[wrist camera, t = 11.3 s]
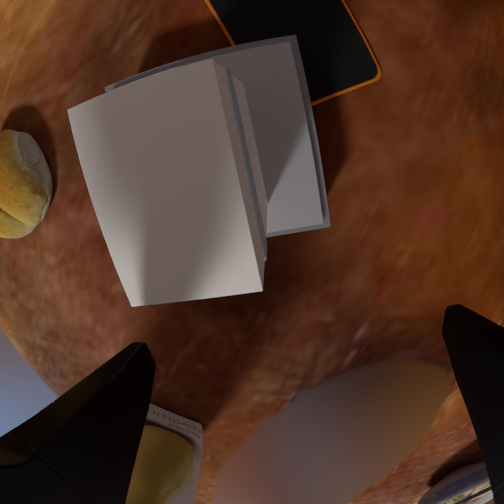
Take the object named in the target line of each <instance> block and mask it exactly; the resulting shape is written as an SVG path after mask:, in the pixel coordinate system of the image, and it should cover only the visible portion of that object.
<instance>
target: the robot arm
mask: <svg viewBox="0 0 504 504" xmlns="http://www.w3.org/2000/svg"><path fill="white" fill-rule="evenodd" d="M442 335H443V339H444V342H445V345H446V348H447V351H448V355H449V358H450V362H451V365H452V369H453V372H454V375H455V378H456V381H457V384H458V386H459V389H460V391H461V394H462V397H463V399H464V402H465V405H466V407H467V410H468V413H469V416H470V419H471V421H472V424H473V427H474V430H475V433H476V436H477V440H478V443H479V446H480V449H481V453H482V456H483V459H484V463H485V466H486V470H487V474H488V477H489V481H490V485H491V489H492V493H493V499H494V503H495V504H504V327H502V326H500V325H498V324H496V323H494V322H492V321H491V320H489V319H487V318H485V317H483V316H481V315H479V314H478V313H476V312H474V311H472V310H470V309H468V308H466V307H464V306H462V305H460V304H456V305H451V306H448V307H447V308H446V311H445V316H444V321H443V327H442ZM155 369H156V365H155V361H154V359H153V357H152V355H151V352H150V350H149V348H148V346H147V345H146V343H144V342H133V343H131V344H130V345H128V346H127V347H126V348H124V349H123V350H122V351H120V352H119V353H118V354H116V355H115V356H114V357H112V358H111V359H110V360H108V361H107V362H106V363H104V364H103V365H102V366H100V367H99V368H98V369H96V370H95V371H94V372H92V373H91V374H90V375H88V376H87V377H86V378H84V379H83V380H82V381H80V382H79V383H78V384H76V385H75V386H74V387H72V388H71V389H70V390H68V391H67V392H66V393H64V394H63V395H62V396H60V397H59V398H58V399H56V400H55V401H54V403H51V404H49V405H48V406H47V407H46V408H44V409H43V410H41V411H40V412H39V413H37V414H36V415H34V416H33V417H31V418H30V419H28V420H27V421H25V422H24V423H22V424H21V425H19V426H17V427H16V428H14V429H13V430H11V431H9V432H8V433H6V434H5V435H3V436H1V437H0V504H125V503H126V499H127V494H128V490H129V486H130V481H131V477H132V473H133V469H134V465H135V461H136V457H137V453H138V449H139V445H140V441H141V437H142V433H143V429H144V426H145V422H146V418H147V414H148V410H149V405H150V400H151V393H152V387H153V381H154V375H155Z"/></svg>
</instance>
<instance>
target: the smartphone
mask: <svg viewBox="0 0 504 504" xmlns="http://www.w3.org/2000/svg"><path fill="white" fill-rule="evenodd" d="M204 1H205V2H206V4H207V6H208V7H209V9H210V10H211V12H212V14H213V15H214V17H215V19H216V20H217V22H218V23H219V25H220V27H221V28H222V30H223V32H224V33H225V35H226V37H227V39H228V40H229V42H230V44H231V45H232V46H235V45H240V44H245V43H250V42H255V41H260V40H266V39H272V38H278V37H284V36H291V35H296V38H297V42H298V46H299V50H300V55H301V59H302V63H303V68H304V72H305V77H306V81H307V86H308V91H309V96H310V101H311V106H315V105H317V104H319V103H322V102H324V101H326V100H329V99H331V98H334V97H336V96H339V95H342V94H344V93H347V92H349V91H352V90H354V89H357V88H360V87H362V86H365V85H368V84H371V83H373V82H376V81H378V80H379V79H380V77H381V69H380V67H379V65H378V63H377V61H376V58H375V56H374V54H373V52H372V50H371V48H370V46H369V44H368V43H367V41H366V39H365V37H364V35H363V33H362V31H361V29H360V27H359V26H358V24H357V22H356V20H355V19H354V17H353V15H352V13H351V12H350V10H349V8H348V6H347V5H346V3H345V1H344V0H204Z"/></svg>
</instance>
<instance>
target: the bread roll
mask: <svg viewBox="0 0 504 504" xmlns="http://www.w3.org/2000/svg"><path fill="white" fill-rule="evenodd" d="M52 188H53V185H52V175H51V171H50V169H49V166H48V164H47V162H46V160H45V156H44V154H43V152H42V151H41V149H40V147H39V146H38V144H37V143H36V141H35V140H34V139H33V138H32V136H31V135H30V134H28V133H26V132H18V131H15V130H9V129H7V130H4V131H2V132H0V237H2V238H20V237H23V236H26V235H27V234H29V233H31V232H32V231H33V230H34V229H35V227H36V226H37V225H38V224H39V223H40V222H41V221H42V219H43V218H44V217H45V215H46V213H47V211H48V208H49V205H50V201H51V197H52Z"/></svg>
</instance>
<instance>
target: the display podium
mask: <svg viewBox="0 0 504 504" xmlns="http://www.w3.org/2000/svg"><path fill="white" fill-rule="evenodd" d="M208 59H213V60H215V61H216V62H217V63H219V64H220V65H221V66H222V67H224V66H226V67H227V68H228V69H230V70H231V73H232V75H233V76H235V77H236V78H237V79H238V80H239V81H241V82H242V83H243V84H244V89H245V94H246V98H247V103H248V108H249V113H250V117H251V122H252V127H253V132H254V137H255V141H256V146H257V151H258V156H259V161H260V166H261V171H262V176H263V181H264V186H265V191H266V197H267V202H268V210H267V228H266V237H272V236H278V235H284V234H290V233H296V232H302V231H309V230H315V229H321V228H327V227H331V226H330V218H329V210H328V203H327V195H326V188H325V182H324V175H323V168H322V162H321V156H320V150H319V144H318V138H317V133H316V127H315V122H314V116H313V111H312V106H311V101H310V96H309V91H308V86H307V81H306V77H305V72H304V68H303V63H302V59H301V55H300V50H299V46H298V42H297V38H296V35H291V36H284V37H278V38H272V39H266V40H260V41H255V42H250V43H245V44H240V45H235V46H231V47H227V48H222V49H218V50H214V51H210V52H206V53H203V54H199V55H195V56H192V57H188V58H185V59H181V60H178V61H175V62H172V63H169V64H165V65H162V66H159V67H156V68H154V69H151V70H148V71H145V72H142V73H139V74H137V75H134V76H131V77H129V78H126V79H124V80H121V81H119V82H116V83H114V84H111V85H109V86H107V87H105V92H106V93H107V92H109V91H112V90H114V89H117V88H120V87H122V86H125V85H128V84H130V83H133V82H136V81H139V80H141V79H144V78H147V77H150V76H153V75H156V74H159V73H162V72H165V71H169V70H172V69H175V68H179V67H182V66H186V65H189V64H193V63H197V62H200V61H204V60H208Z"/></svg>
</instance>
